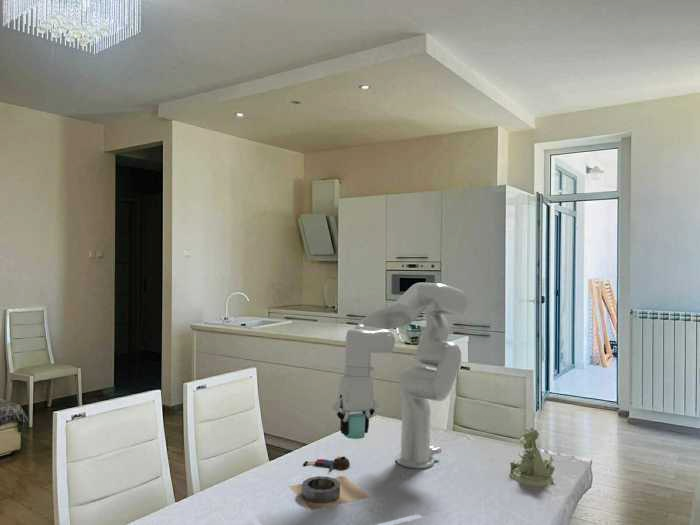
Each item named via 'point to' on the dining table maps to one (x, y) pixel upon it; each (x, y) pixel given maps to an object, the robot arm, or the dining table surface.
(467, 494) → the dining table surface
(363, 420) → the teal rounded tetrahedron
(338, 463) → the toy
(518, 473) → the figurine
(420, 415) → the robot arm
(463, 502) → the dining table surface
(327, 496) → the faceted gray ring
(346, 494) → the board
